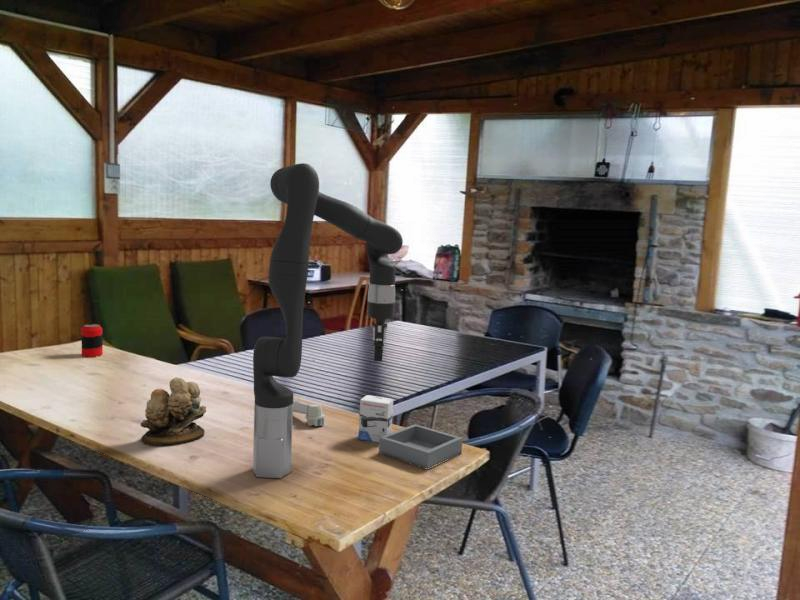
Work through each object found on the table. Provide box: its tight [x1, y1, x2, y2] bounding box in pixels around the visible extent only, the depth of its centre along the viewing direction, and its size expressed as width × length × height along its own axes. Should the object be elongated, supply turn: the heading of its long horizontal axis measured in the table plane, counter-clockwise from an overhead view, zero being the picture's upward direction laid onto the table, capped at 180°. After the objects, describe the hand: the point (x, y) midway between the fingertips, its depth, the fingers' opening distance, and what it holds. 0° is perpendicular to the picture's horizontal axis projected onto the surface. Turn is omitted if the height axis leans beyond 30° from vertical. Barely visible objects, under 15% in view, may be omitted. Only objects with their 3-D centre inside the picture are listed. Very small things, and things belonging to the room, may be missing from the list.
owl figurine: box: [140, 376, 207, 447], centre depth 190 cm, size 18×12×17 cm, turn 133°
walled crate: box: [378, 424, 463, 470], centre depth 189 cm, size 16×16×4 cm
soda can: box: [81, 323, 104, 358], centre depth 276 cm, size 8×8×12 cm
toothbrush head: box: [293, 399, 326, 427], centre depth 215 cm, size 5×7×25 cm
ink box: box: [357, 394, 394, 443], centre depth 198 cm, size 8×5×12 cm, turn 73°
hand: (378, 357), depth 195 cm, fingers open, 8 cm apart
